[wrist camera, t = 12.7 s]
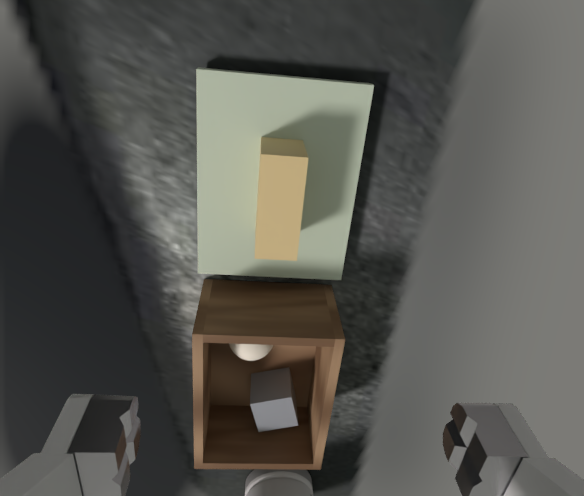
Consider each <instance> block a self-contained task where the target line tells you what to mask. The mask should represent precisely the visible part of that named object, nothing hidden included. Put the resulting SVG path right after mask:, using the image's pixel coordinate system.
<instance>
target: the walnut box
mask: <svg viewBox="0 0 584 496" xmlns="http://www.w3.org/2000/svg"><path fill="white" fill-rule="evenodd" d="M229 344H259V345H273V347H272V349H271V351H270V352H269V353H268V354H267V355H266V356H265V357H263V358H261V359H259V360H254V361H248V360H244V359H241V358H239V357H238V356H237V355H236V354H234V352H233V351H232V349H231V348H230V345H229ZM344 344H345V336H344V332H343V328H342V325H341V321H340V317H339V313H338V309H337V305H336V301H335V297H334V293H333V289H332V285H323V284H302V283H281V282H260V281H238V280H217V279H204V282H203V287H202V292H201V296H200V301H199V305H198V310H197V315H196V319H195V324H194V328H193V333H192V351H193V417H194V469H302V470H321V465H322V459H323V454H324V449H325V444H326V438H327V433H328V428H329V423H330V417H331V412H332V407H333V402H334V396H335V391H336V386H337V381H338V375H339V370H340V365H341V360H342V354H343V349H344ZM288 367H289V369H290V373H291V377H292V382H293V386H294V390H295V395H296V406H297V417H298V426H293V427H287V428H281V429H275V430H269V431H263V432H258V429H257V425H256V422H255V419H254V415H253V412H252V409H251V406H250V390H251V374H253V373H258V372H264V371H270V370H276V369H282V368H288Z"/></svg>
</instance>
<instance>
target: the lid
mask: <svg viewBox="0 0 584 496" xmlns="http://www.w3.org/2000/svg"><path fill="white" fill-rule="evenodd" d="M196 77H197V221H198V273H199V274H220V275H241V276H262V277H283V278H304V279H325V280H341V278H342V272H343V266H344V260H345V254H346V248H347V242H348V236H349V231H350V225H351V219H352V213H353V207H354V201H355V195H356V189H357V184H358V178H359V172H360V166H361V160H362V154H363V148H364V142H365V137H366V131H367V125H368V119H369V113H370V107H371V101H372V95H373V90H374V85H373V84H371V83H362V82H352V81H341V80H330V79H319V78H308V77H297V76H287V75H276V74H265V73H254V72H243V71H232V70H222V69H211V68H200V67H198V68H197V69H196Z"/></svg>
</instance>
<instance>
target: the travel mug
mask: <svg viewBox="0 0 584 496" xmlns="http://www.w3.org/2000/svg"><path fill="white" fill-rule="evenodd" d="M245 496H313V487H312V479H311V476H310V474H309V472H308V471H307V470H302V469H254V470H253V471H252V472H251V473H250V474H249V475H248V477H247V479H246V482H245Z"/></svg>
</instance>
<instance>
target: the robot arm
mask: <svg viewBox="0 0 584 496" xmlns="http://www.w3.org/2000/svg"><path fill="white" fill-rule="evenodd" d="M137 410H138V399H137V397H135V396H114V395H86V394H72V396H70V397H69V398H68V399H67V401H66V403H65V405H64V408H63V409H62V411H61V413H60V415H59V418H58V419H57V421H56V423H55V425H54V428H53V429H52V432H51V433H50V435H49V438H48V440H47V441H46V444H45V445H44V447H43V449H42V451H41V453H34V454H32V455H31V456H30V457H29V458H27V459H26V460H25V461H23V462H22V463H21V464H19V465H18V466H17V467H15V468H14V469H13V470H12V471H10V472H9V473H8V474H6V475H5V476H4V477H2V478H1V479H0V496H125V494H126V491H127V487H128V484H129V480H130V469H129V465H130V464H131V463H132V462H133V461H134V460H135V459H136V455H137V451H138V447H139V440H140V428H141V426H140V419H139V418H138V417H137V416H136V414H137ZM450 413H451V415H452V418H453V420H451V421H450V422H449V423H447V424H446V426H445V429H444V432H443V446H444V451H445V454H446V457H447V460H448V462H449V463H450V464H451V465H452V466H453V467H455V468H456V469H457V474H456V477H455V479H456V482H457V484H458V487H459V489H460V492H461V494H462V496H584V479H582V478H581V477H579V476H578V475H577V474H575V473H574V472H573V471H571V470H570V469H568V468H567V467H566V466H565V465H563V464H562V463H561V462H559V461H558V460H556V459H555V458H549V457H548V456H547V454H546V452H545V451H544V449H543V448H542V446H541V445H540V443H539V441H538V440H537V438H536V437H535V435H534V434H533V432H532V430H531V429H530V427H529V426H528V424H527V423H526V421H525V420H524V418H523V416H522V415H521V413H520V412H519V410H518V408H517V407H516V406H514V405H513V404H497V403H496V404H495V403H494V404H491V403H456V404H455V405H454V406H453V408H452V410H451V412H450Z"/></svg>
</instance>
